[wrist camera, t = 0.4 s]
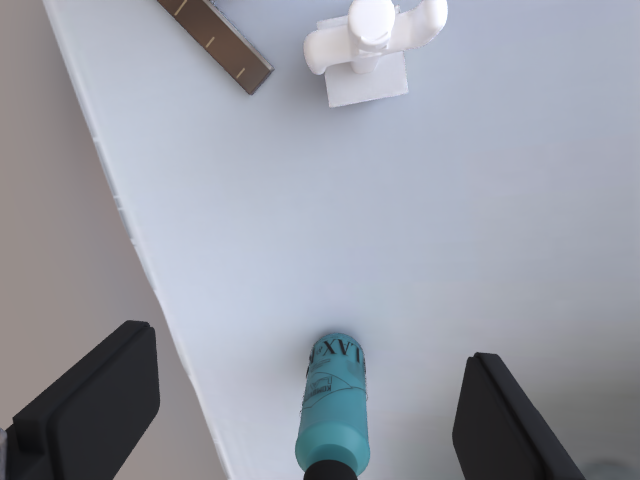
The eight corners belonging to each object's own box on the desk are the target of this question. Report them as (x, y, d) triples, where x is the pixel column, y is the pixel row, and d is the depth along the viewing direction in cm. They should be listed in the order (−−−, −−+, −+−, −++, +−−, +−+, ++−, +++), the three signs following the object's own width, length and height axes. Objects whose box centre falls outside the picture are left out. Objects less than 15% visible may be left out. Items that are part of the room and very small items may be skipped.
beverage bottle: (374, 344, 44) (396, 503, 25) (342, 380, 46) (339, 555, 27) (331, 314, 44) (320, 454, 24) (299, 352, 45) (266, 511, 26)
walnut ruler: (96, -63, 35) (89, -68, 34) (117, -96, 34) (111, -102, 33) (251, 95, 38) (249, 94, 37) (274, 69, 37) (272, 67, 36)
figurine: (308, 35, 36) (282, -34, 21) (405, 14, 35) (448, -72, 20) (320, 112, 38) (305, 97, 23) (413, 95, 36) (457, 68, 22)
